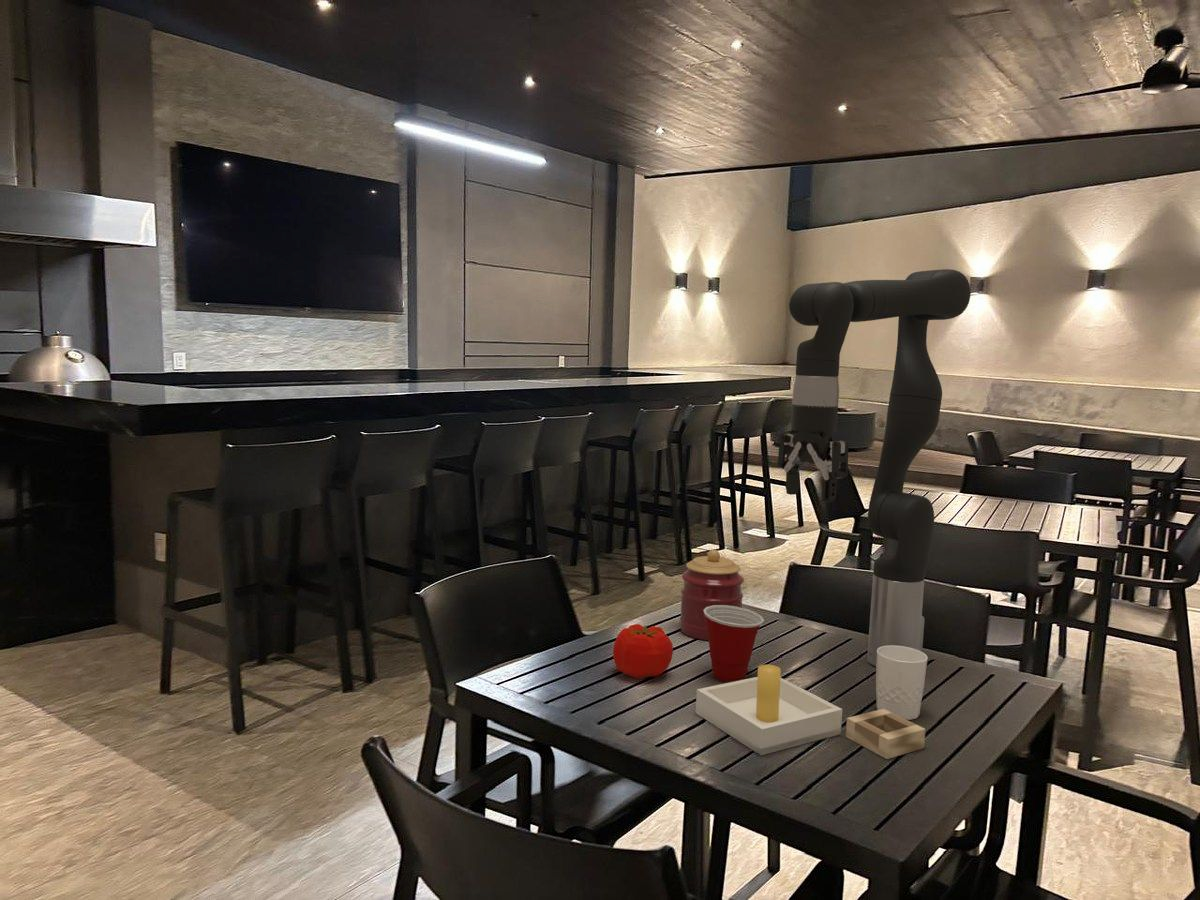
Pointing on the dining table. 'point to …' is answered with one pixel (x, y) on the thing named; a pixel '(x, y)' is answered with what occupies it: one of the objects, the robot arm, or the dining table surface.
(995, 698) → the dining table surface
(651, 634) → the tomato
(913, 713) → the white cup
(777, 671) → the dowel
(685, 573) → the canister
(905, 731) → the socket block
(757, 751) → the tray
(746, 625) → the plastic cup
